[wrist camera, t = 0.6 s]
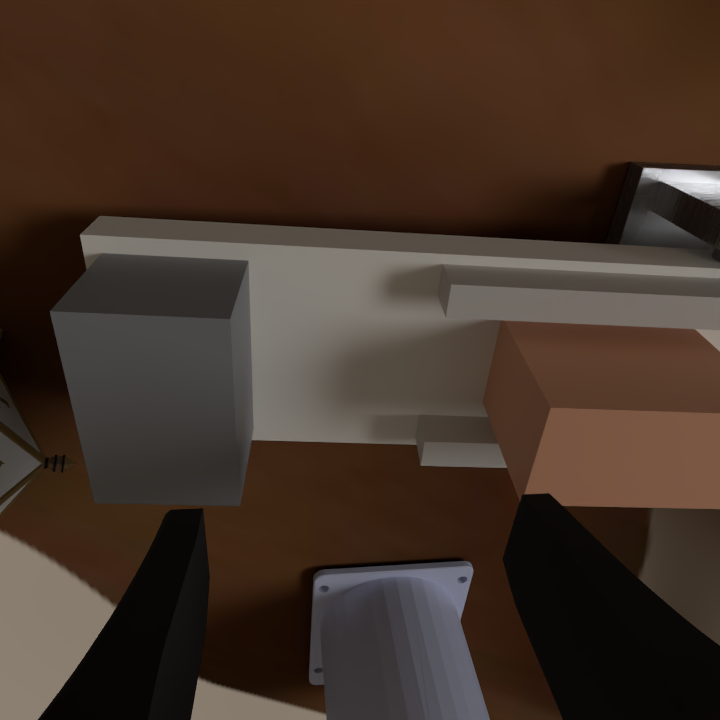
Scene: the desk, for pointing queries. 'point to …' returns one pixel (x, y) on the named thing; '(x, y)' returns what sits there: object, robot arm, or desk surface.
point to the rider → (607, 413)
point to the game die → (19, 451)
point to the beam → (322, 340)
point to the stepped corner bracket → (668, 207)
